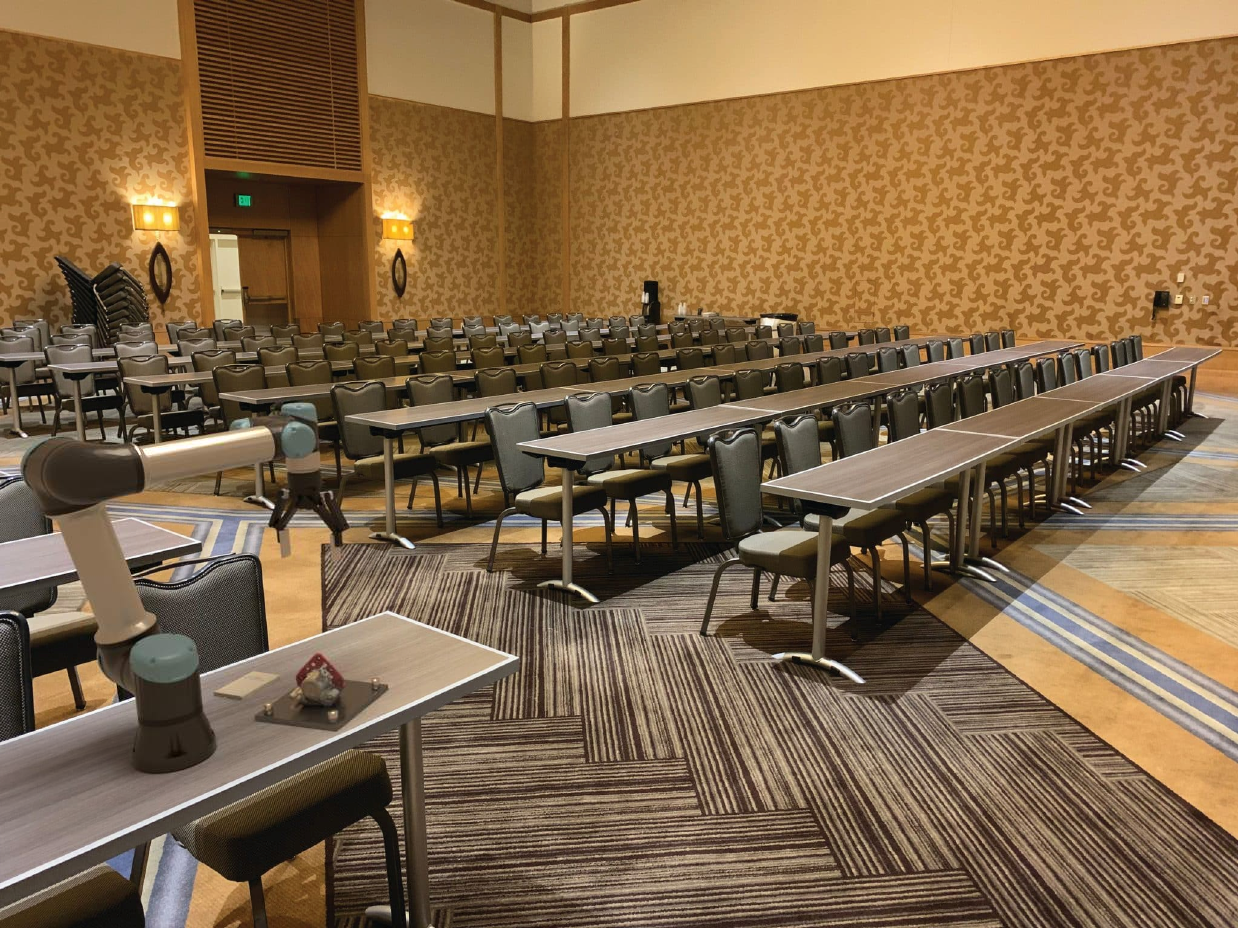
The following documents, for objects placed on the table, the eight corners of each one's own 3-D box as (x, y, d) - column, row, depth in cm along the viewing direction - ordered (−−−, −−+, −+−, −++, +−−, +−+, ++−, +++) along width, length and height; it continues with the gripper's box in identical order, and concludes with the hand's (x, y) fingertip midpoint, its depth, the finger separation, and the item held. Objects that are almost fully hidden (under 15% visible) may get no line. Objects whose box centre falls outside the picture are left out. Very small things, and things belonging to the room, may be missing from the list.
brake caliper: (358, 678, 207) (340, 650, 198) (343, 723, 200) (324, 696, 191) (311, 675, 209) (292, 648, 200) (295, 720, 202) (274, 694, 193)
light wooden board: (213, 698, 208) (252, 676, 219) (242, 702, 205) (280, 680, 217) (213, 691, 208) (251, 670, 219) (241, 696, 205) (279, 674, 216)
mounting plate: (255, 720, 195) (253, 706, 195) (313, 680, 215) (311, 667, 214) (336, 731, 190) (335, 716, 189) (388, 689, 210) (387, 676, 209)
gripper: (360, 468, 211) (366, 557, 214) (268, 465, 217) (275, 550, 221) (342, 475, 203) (348, 566, 207) (247, 470, 210) (255, 559, 214)
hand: (311, 558), depth 214 cm, fingers open, 13 cm apart
